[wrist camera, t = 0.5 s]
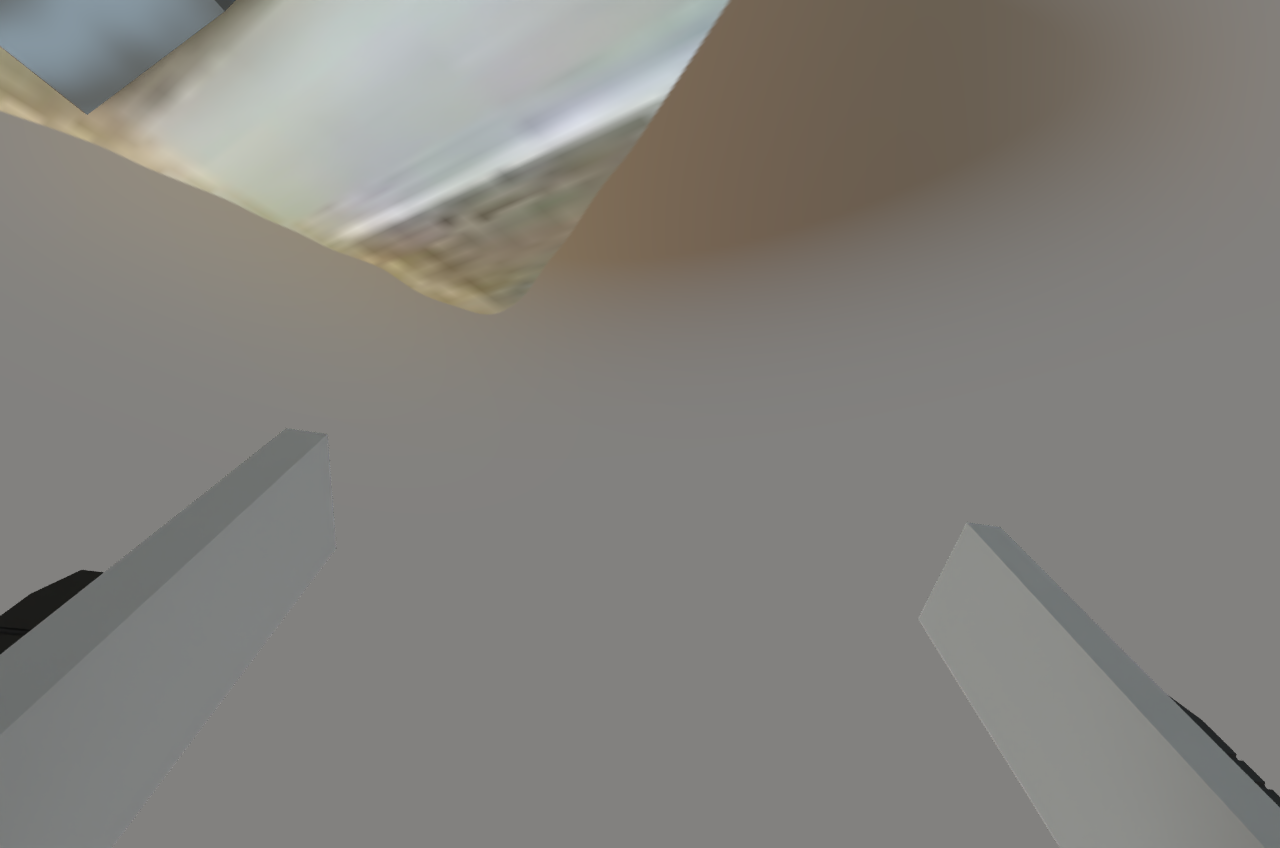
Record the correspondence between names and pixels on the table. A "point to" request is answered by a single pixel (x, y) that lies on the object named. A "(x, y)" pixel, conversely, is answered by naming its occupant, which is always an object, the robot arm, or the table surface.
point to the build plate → (98, 40)
